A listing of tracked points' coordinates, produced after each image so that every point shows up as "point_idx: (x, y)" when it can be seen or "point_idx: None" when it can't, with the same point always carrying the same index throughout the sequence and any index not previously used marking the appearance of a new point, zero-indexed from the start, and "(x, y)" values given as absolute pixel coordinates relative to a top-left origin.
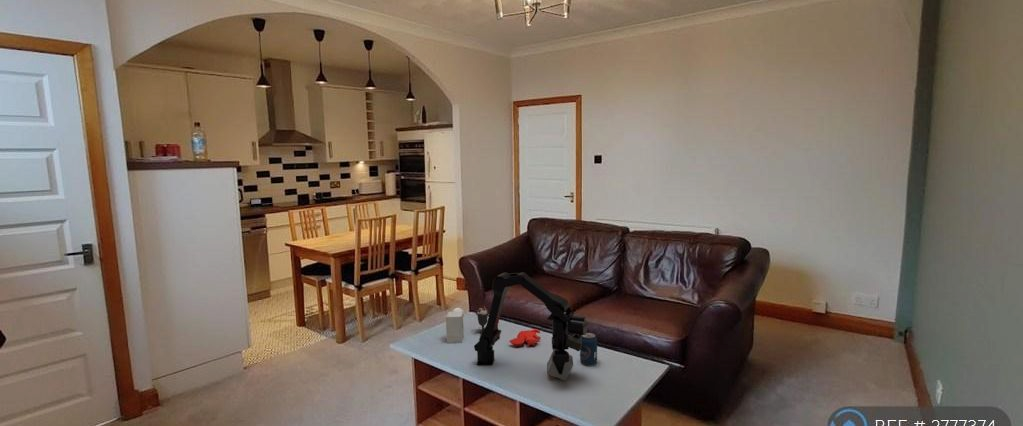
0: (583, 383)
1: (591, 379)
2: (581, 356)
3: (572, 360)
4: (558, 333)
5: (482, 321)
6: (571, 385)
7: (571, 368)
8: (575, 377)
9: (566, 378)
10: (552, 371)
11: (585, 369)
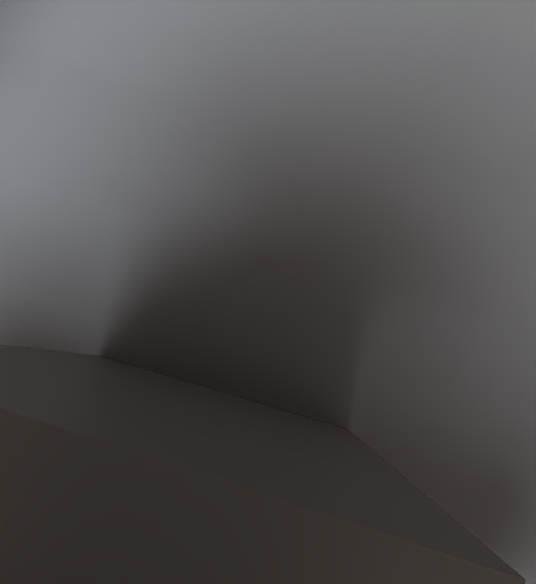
0: (503, 201)
1: (409, 18)
2: None
3: (87, 460)
4: None
5: None
6: (503, 396)
7: (432, 503)
8: (281, 265)
9: (357, 439)
10: None
11: (65, 36)
